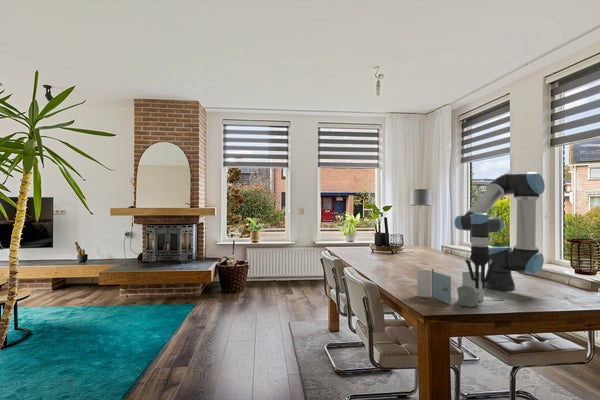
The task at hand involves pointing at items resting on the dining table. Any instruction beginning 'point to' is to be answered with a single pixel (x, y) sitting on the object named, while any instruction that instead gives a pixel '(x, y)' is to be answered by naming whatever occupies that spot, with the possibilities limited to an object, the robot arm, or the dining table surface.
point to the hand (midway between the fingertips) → (479, 295)
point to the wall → (425, 282)
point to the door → (442, 287)
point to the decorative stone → (467, 296)
